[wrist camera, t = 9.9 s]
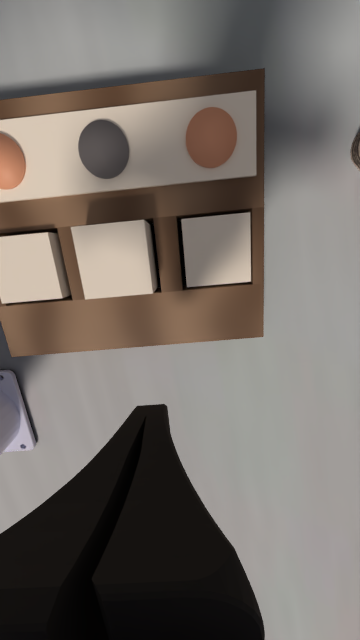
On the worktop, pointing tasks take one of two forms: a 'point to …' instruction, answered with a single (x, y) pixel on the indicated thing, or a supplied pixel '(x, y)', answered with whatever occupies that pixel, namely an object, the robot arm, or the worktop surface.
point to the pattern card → (128, 147)
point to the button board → (164, 211)
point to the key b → (116, 259)
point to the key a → (32, 268)
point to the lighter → (356, 151)
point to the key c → (217, 249)
